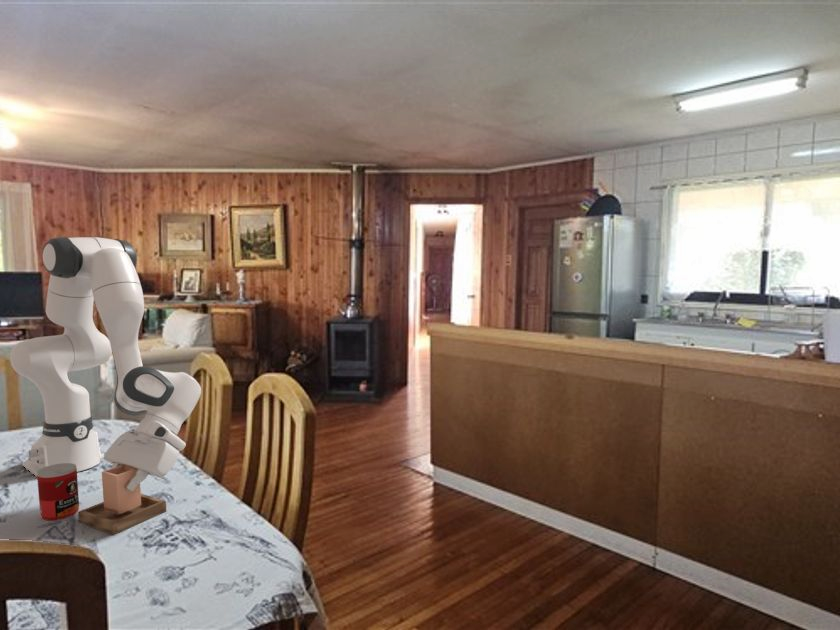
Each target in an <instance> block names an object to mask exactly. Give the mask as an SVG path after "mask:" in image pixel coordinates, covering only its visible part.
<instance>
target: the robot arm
mask: <svg viewBox="0 0 840 630" xmlns="http://www.w3.org/2000/svg"><path fill="white" fill-rule="evenodd" d="M137 262H138V256H137V252H136V250H135V248H134V246H133V244H132V243H130V242H128V241H126V240H122V239H117V238H114V239H112V238H111V239H110V238H108V237H107V238H106V237H96V236H91V237H85V236H84V237H83V236H82V237H81V236H80V237H79V236H78V237H66V236H58V237H54V238H50V239H49V240H48V241H46V243H45V244H44V246H43V249H42V263H43V267H44V268H45V271H46V272H48V273H49V274H50V276H49V279H48V288H47V296H46V303H45V313H46V317H47V318H48V319H49V321H51V322H52V323H53V324H56V325H58V326H60V327H63V328H64V330H63V333H62V334H56V335H48V336H38V337H33V338H29V339H26V340H23V341H20V342H17V343H16V344H15V345H14V347H12V350H11V352H10V356H9V360H10V366H11V367H12V369H13V370H14V371H15V373H17V374H18V375H20V376H21V377H23V378H25V379H28V380H29V381H31V382H32V383H33V384H34V385H35V387H36V388H37V389H38V391H39V393H40V395H41V397H42V402H43V409H44V417H45V421H43V422H41V424H42V425H41V426H42V432H41V433H42V435H41V436H39V438H38V439H37V440H36V441H34V443H33V444H32V445H31V448H30V450H28V457H29V458H30V459H27V460H25V461H23V462H22V463H21V466H22V467H23V466H24V467H25V468H26V469H25V468H24V467H23V468H24V469H25V470H27V471H28V470H29V471H30V472H31V473H30V472H29V471H28V472H29V473H30V474H31V475H33V474H34V475H35V477H36V478H37V472H38V471H39V470H40V469H42V468H44V467H47V466H50V465H55V464H62V463H71V464H75V465H76V468H77V473H78V472H81V471H82V472H83V471H85V470H89V469H91V468H93V467H95V466H97V465H98V464H99V463H100V462H101V460H102V459H104V461H106V462H107V463H109V464H110V465H112V466H111V468H110V469H112V468H115V467H118V466H121V465H126V466H130V467H133V468H137V469H138V471H137V472H136V474H137V475H136V476H135V477H134V478H133V479H132V480H131V481H130V480H128V481H127V483H126V484H125V486H124V488H126V489H127V490H130V491H133V490H134V489H135V488H136V486H137V485H138V484H139V483H140V484H141V483H142V482H143V481H145V480H146V479H147V477H148V476H149V475H150V476H153V477H157V478H162V479H163V478H164V477H165V476H167V475H168V473H169V472H171V469H172V468H173V466H174V465H175V463H176V461H178V460H177V459H178V458H179V456H180V452H182V451H183V450H184V449H185V448H186V444H187V443H186V442H185V441H184V440H182V439H181V438H180V437H179V436H178V433H179V432H180V430H181V426H183V425H182V424H183V423H184V421H185V420H187V419H188V418H189V417H190V415H191V414H192V412H193V410H194V409H195V407H196V405H197V404H198V402H199V399H200V397H201V395H202V387H201V384H200V383H199V381H198V380H197V379H196V378H195V377H194V376H192V374H189V373H187V372H184V371H179V372H178V371H177V372H170V371H163V370H159V369H157V368H154V367H151V366H146V365H144V366H143V362H142V355H141V352H140V351H141V350H140V347H139V332H140V327H141V323H142V321H143V320H142V319H143V317H144V313H145V299H144V298H145V297H144V292H143V291H144V290H143V288H142V284H141V281H140V278H139V274H138V272H137V270H136V267H137V264H138V263H137ZM94 303H95V306H96V309H97V312H98V314H99V317H100V319H101V321H102V325H103V327H104V330H105V332H106V335H107V336H106V335H105V334H103V333H102V332H100V330H98V329H97V327H96V324H95V322H94V317H93V316H94V315H93V314H94V313H93V312H94ZM111 356H112V359H113V362H114V367H115V371H116V385H115V389H114V394H113V400H114V401H113V402H114V404H115V406H116V408H117V410H119V411H120V412H121V413H123V414H126V415H128V416H141V415H144V414H145V415H144V417H143V418H142V419H141V421H140V422H139V424H138V425H137V426H136V428H131V429H129V430H128V431H125V432H124V433H122V434H121V435H119V436H118V437H117V438H116V440H115V441H114V442H113V443H112V444H110V446H109V448H108V449H107V450H106V452H101V449H100V443H99V436H98V432H97V431H96V430H94V420H93V415H91V403H90V401H91V400H90V393H89V391H88V389H86V387H84V386H82V385H80V384H78V383H74V382H71V381H70V380H69V377H68V373H70V372H71V373H72V372H76V371H82V370H90V369H93V368H96V367H99V366H101V365H103V364H106V363H107V362H108V361H109V360H110V358H111ZM34 475H33V476H34Z"/></svg>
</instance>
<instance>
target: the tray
mask: <svg viewBox="0 0 840 630" xmlns="http://www.w3.org/2000/svg"><path fill="white" fill-rule="evenodd" d="M165 512H167V500H163V499H160V498H157V497H154V496H152V495H151V496H150V495H147V494H145V493H141V505H140V506H138V507H136V508H133V509H131V510H129V511H126V512H124V513H121V514H119V515H118V514H115V513H112V512H110V511H107V510H104V501H103V502H99V503H97V504H94V505H92V506H90V507H87V508H84V509H82V510H78V512H77V515H78V523H79V524H82V525H85V526H87V527H90V528H93V529H95V530H99V531H101V532H104V533H107V534H109V535H112V536H115V535H117V534H119V533H121V532H124V531H126V530H128V529H130V528H132V527H134V526H137V525H139V524H141V523H144V522H146V521H148V520H151V519H152V518H155V517H157V516H159V515H161V514H164V513H165Z"/></svg>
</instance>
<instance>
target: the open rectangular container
mask: <svg viewBox="0 0 840 630" xmlns="http://www.w3.org/2000/svg"><path fill="white" fill-rule="evenodd" d="M111 468H112V467H111ZM111 468H109V469H106V470H103V471H101V480H102V481H101V482H102V497H103V502H104V510H107V511H110V512H112V513H115V514H118V515H119V514H121V513H124V512H126V511H129V510H131V509H133V508H136V507H138V506H140V505H141V494H142V493H141V483H139V484H138V485H137V486H136V488H135V489H134V490H133V491H130V490H127V489H126V488H124V486H125V484H126V483H127V481H128V480H130V481H131V480H132V479H133V478H134V477H135V476H136V475H137V474H136V472H137V471H138V469H137V468H133V467H130V466H126V465H121V466H118V467H115V468H112V469H111Z"/></svg>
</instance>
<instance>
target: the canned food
mask: <svg viewBox="0 0 840 630" xmlns="http://www.w3.org/2000/svg"><path fill="white" fill-rule="evenodd" d="M36 479H37V491H38V502H39V503H38V504H39V514H40V517H41V519H42V520H44V521H49V522H50V521H52V522H53V521H60V520H64V519H67V518H70V517H72V516H74V515H76V514H78V512H79V508H80V501H79V499H80V498H79V484H78V483H79V482H78V472H77V468H76V465H75V464H71V463H62V464H55V465H50V466H47V467H44V468H42V469H40V470H39V471H38V472H37V477H36Z"/></svg>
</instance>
